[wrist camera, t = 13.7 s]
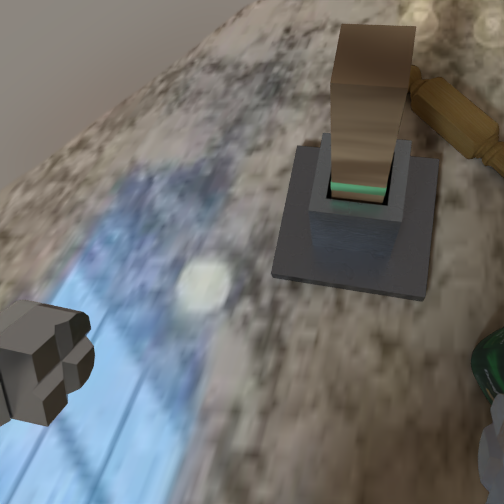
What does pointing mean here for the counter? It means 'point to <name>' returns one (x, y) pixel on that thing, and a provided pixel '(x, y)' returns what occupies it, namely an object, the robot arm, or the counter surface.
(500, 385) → the coffee jar
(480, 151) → the tap handle
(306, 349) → the counter surface
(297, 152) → the stand
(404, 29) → the column
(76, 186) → the counter surface
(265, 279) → the counter surface
